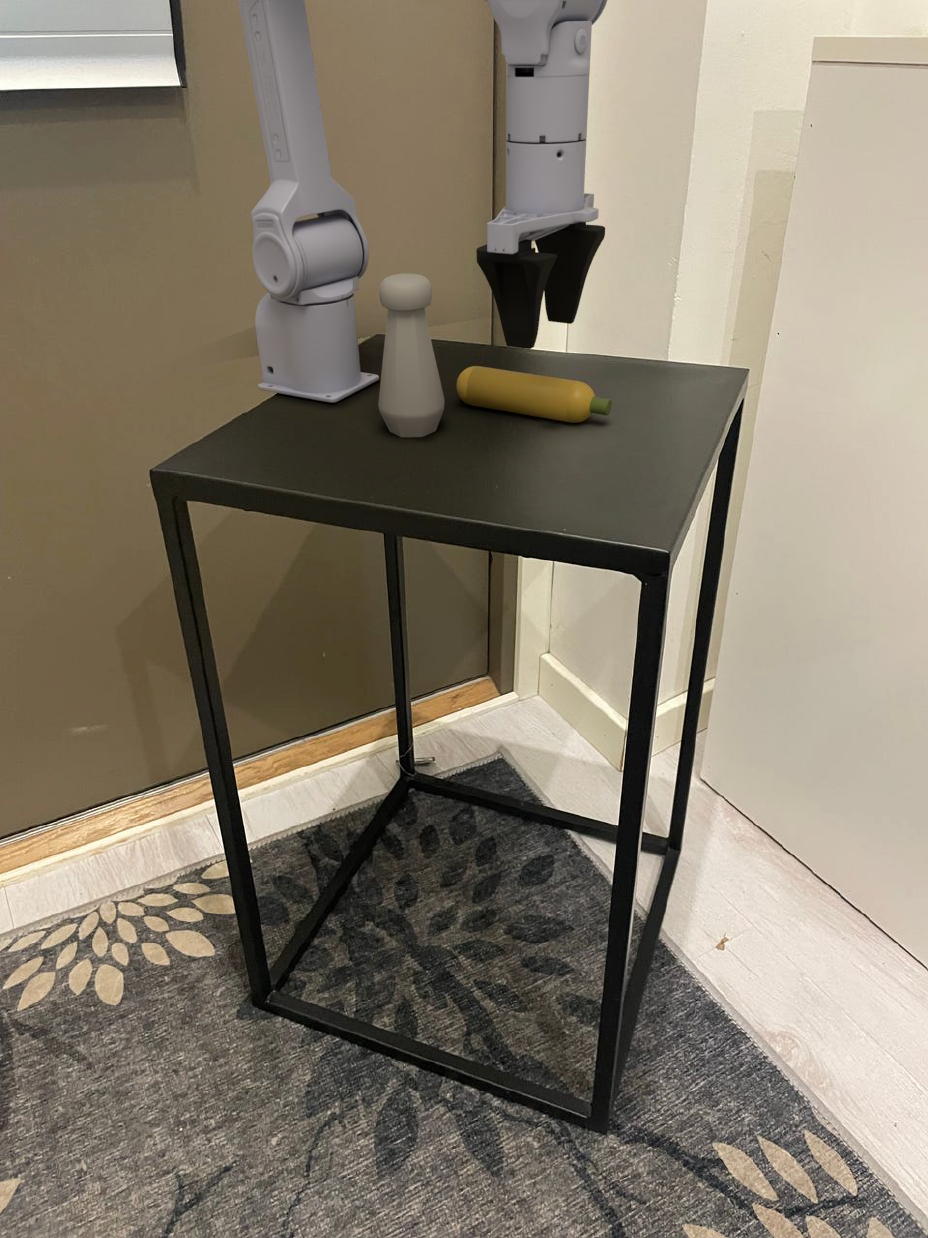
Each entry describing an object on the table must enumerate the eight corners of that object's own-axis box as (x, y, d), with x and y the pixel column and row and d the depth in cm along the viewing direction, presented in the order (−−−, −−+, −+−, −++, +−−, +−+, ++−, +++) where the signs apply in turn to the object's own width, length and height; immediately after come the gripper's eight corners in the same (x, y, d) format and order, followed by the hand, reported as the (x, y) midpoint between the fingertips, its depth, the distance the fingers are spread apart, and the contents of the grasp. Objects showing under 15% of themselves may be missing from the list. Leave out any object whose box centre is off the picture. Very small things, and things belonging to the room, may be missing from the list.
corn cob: (449, 407, 86) (448, 369, 84) (468, 395, 88) (467, 358, 87) (600, 433, 80) (602, 393, 78) (615, 420, 82) (618, 381, 80)
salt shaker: (444, 441, 79) (438, 283, 72) (377, 442, 79) (365, 285, 72) (446, 417, 84) (441, 267, 77) (383, 418, 84) (373, 268, 77)
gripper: (555, 152, 58) (549, 365, 65) (635, 131, 69) (622, 316, 76) (458, 149, 61) (463, 353, 68) (549, 129, 72) (544, 307, 79)
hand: (541, 333), depth 72 cm, fingers open, 7 cm apart
